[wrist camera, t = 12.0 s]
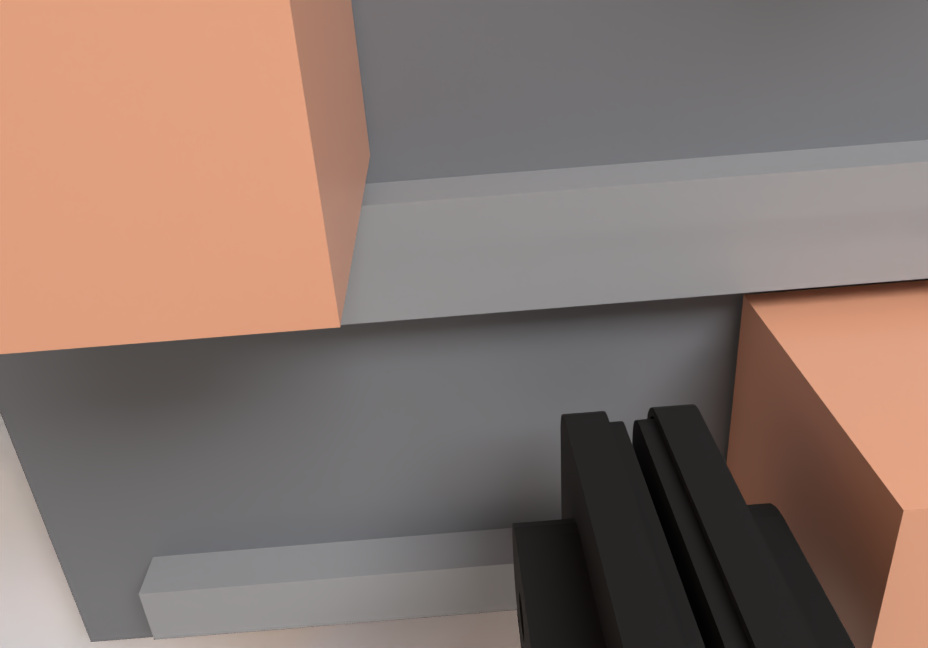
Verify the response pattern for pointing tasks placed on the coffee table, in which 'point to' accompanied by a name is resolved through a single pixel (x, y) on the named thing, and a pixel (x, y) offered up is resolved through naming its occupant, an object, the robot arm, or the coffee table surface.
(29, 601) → the coffee table surface
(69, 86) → the tab
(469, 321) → the switch bank
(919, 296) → the orange cube
